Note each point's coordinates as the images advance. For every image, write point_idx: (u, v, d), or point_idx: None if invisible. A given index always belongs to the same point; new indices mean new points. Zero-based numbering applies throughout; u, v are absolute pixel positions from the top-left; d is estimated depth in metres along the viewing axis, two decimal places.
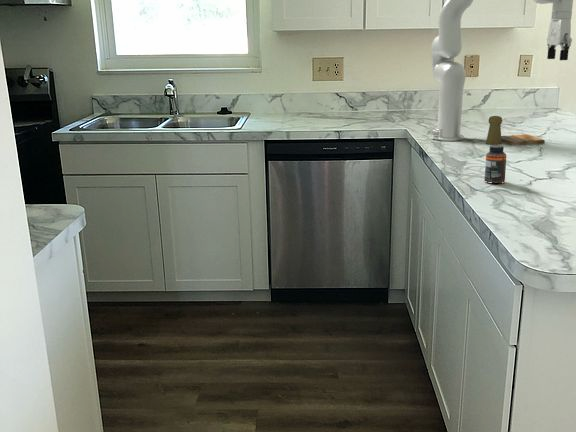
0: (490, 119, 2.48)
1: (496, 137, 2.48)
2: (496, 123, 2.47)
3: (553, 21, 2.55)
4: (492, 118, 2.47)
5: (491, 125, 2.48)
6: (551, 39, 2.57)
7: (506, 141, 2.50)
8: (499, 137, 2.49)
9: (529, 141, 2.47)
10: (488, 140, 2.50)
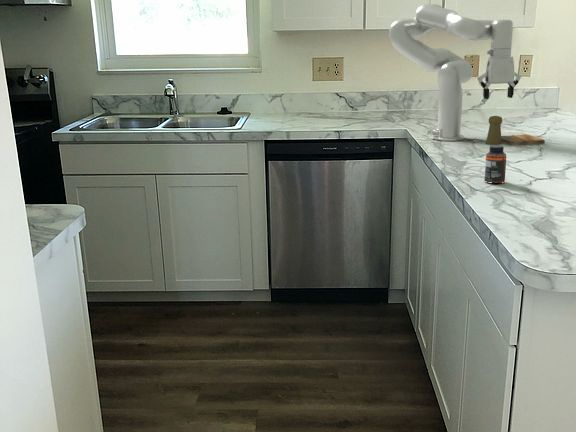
0: (490, 119, 2.48)
1: (496, 137, 2.48)
2: (496, 123, 2.47)
3: (501, 58, 2.39)
4: (492, 118, 2.47)
5: (491, 125, 2.48)
6: (501, 77, 2.41)
7: (506, 141, 2.50)
8: (499, 137, 2.49)
9: (529, 141, 2.47)
10: (488, 140, 2.50)
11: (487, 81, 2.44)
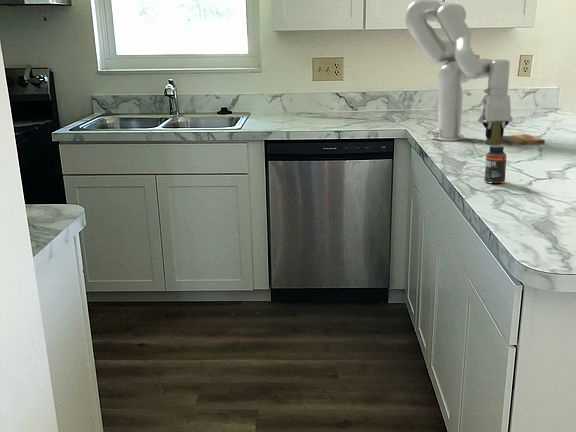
0: None
1: (496, 137, 2.48)
2: (496, 123, 2.47)
3: (498, 97, 2.43)
4: None
5: (491, 125, 2.48)
6: (497, 115, 2.45)
7: (506, 141, 2.50)
8: (499, 137, 2.49)
9: (529, 141, 2.47)
10: (488, 140, 2.50)
11: (487, 121, 2.49)
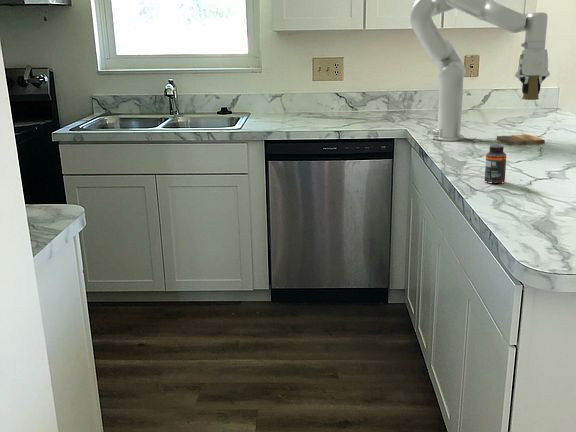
0: None
1: (533, 92, 2.45)
2: (533, 77, 2.44)
3: (535, 51, 2.41)
4: None
5: (528, 80, 2.46)
6: (534, 70, 2.43)
7: (506, 141, 2.50)
8: (536, 92, 2.46)
9: (529, 141, 2.47)
10: (525, 95, 2.47)
11: (524, 76, 2.46)
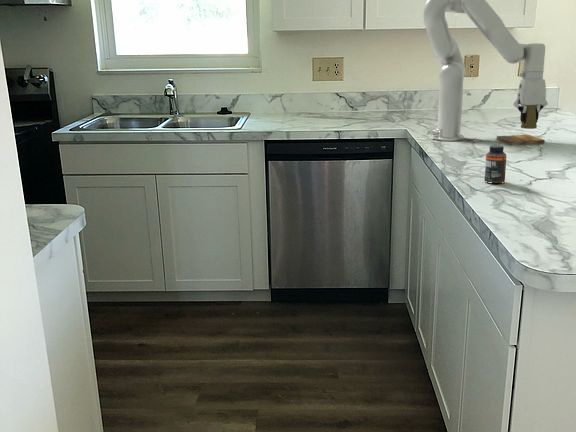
0: None
1: (531, 121, 2.49)
2: (531, 107, 2.47)
3: (534, 81, 2.44)
4: None
5: (526, 109, 2.49)
6: (533, 99, 2.46)
7: (506, 141, 2.50)
8: (534, 121, 2.49)
9: (529, 141, 2.47)
10: (523, 124, 2.51)
11: (522, 105, 2.49)
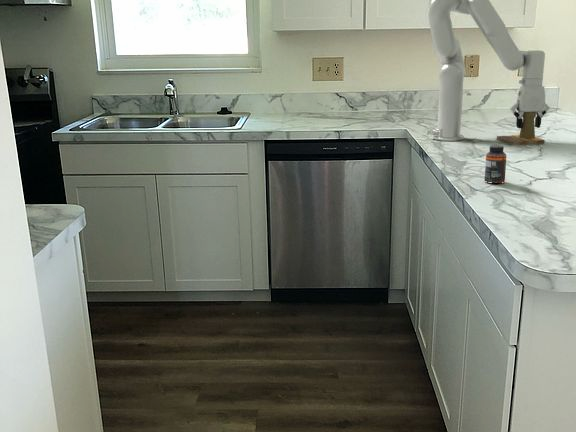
0: (524, 113, 2.50)
1: (530, 131, 2.50)
2: (530, 117, 2.49)
3: (533, 88, 2.45)
4: (526, 112, 2.49)
5: (525, 119, 2.50)
6: (532, 106, 2.47)
7: (506, 141, 2.50)
8: (533, 131, 2.50)
9: (529, 141, 2.47)
10: (521, 134, 2.52)
11: (519, 111, 2.50)
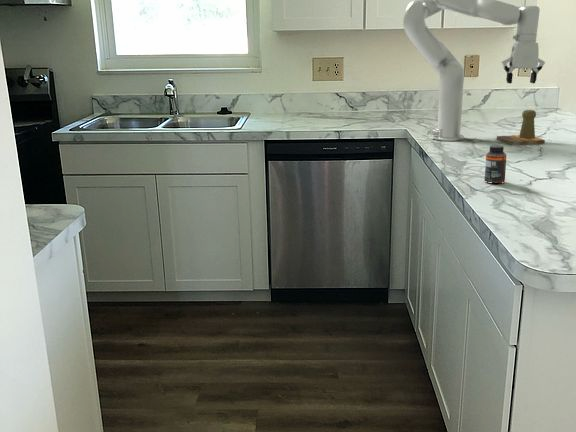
0: (524, 113, 2.50)
1: (530, 131, 2.50)
2: (530, 117, 2.49)
3: (526, 44, 2.44)
4: (526, 112, 2.49)
5: (525, 119, 2.50)
6: (525, 62, 2.46)
7: (506, 141, 2.50)
8: (533, 131, 2.50)
9: (529, 141, 2.47)
10: (521, 134, 2.52)
11: (511, 66, 2.49)
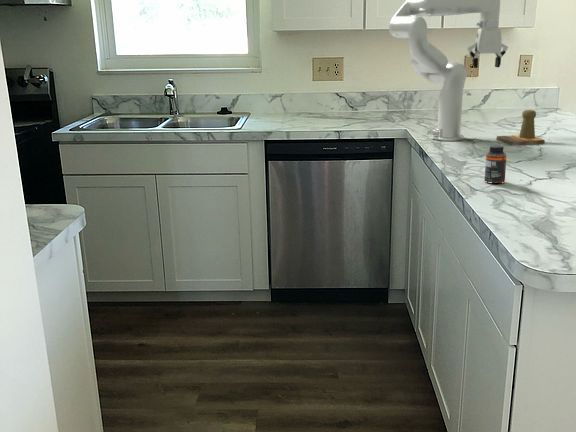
0: (524, 113, 2.50)
1: (530, 131, 2.50)
2: (530, 117, 2.49)
3: (489, 30, 2.58)
4: (526, 112, 2.49)
5: (525, 119, 2.50)
6: (489, 48, 2.60)
7: (506, 141, 2.50)
8: (533, 131, 2.50)
9: (529, 141, 2.47)
10: (521, 134, 2.52)
11: (476, 51, 2.63)
